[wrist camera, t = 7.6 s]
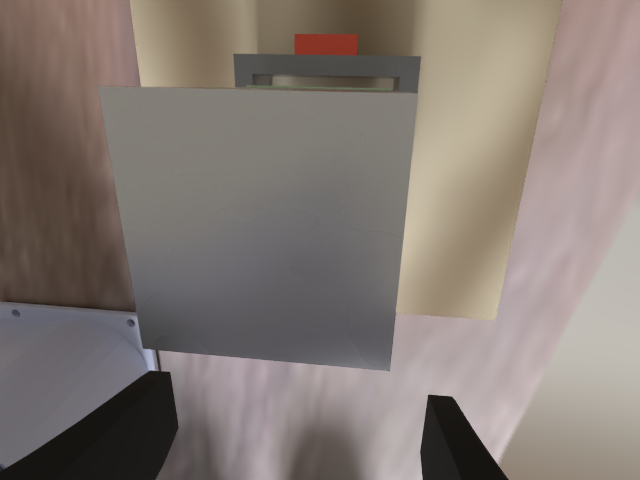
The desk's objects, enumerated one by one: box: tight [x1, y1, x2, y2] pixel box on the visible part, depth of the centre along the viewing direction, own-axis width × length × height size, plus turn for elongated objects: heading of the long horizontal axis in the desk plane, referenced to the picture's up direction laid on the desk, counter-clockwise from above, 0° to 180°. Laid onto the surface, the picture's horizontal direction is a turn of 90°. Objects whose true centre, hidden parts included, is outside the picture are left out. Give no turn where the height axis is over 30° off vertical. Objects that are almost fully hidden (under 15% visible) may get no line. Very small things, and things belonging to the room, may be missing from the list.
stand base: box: [130, 0, 563, 320], centre depth 17 cm, size 16×16×2 cm
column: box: [98, 85, 418, 371], centre depth 9 cm, size 4×4×8 cm
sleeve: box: [233, 34, 421, 93], centre depth 15 cm, size 6×7×3 cm
